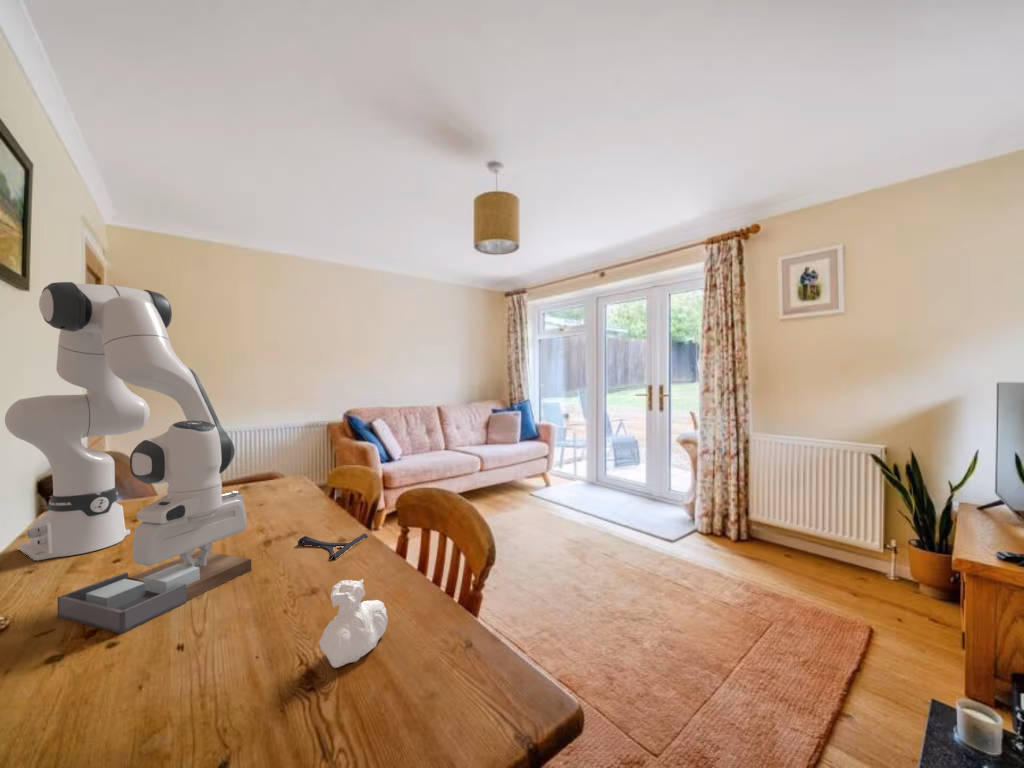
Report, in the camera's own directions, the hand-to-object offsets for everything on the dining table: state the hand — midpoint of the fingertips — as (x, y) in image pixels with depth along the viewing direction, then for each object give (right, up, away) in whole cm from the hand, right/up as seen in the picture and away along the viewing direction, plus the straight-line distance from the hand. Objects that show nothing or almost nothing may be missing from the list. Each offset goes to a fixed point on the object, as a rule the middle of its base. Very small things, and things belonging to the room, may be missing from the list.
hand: (196, 568), depth 84 cm
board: (-3, -4, +3) cm, 6 cm away
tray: (-7, -4, -8) cm, 11 cm away
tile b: (-1, -1, -4) cm, 5 cm away
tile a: (-11, -3, -6) cm, 13 cm away
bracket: (+17, -4, +21) cm, 27 cm away
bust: (+40, -4, -20) cm, 45 cm away
